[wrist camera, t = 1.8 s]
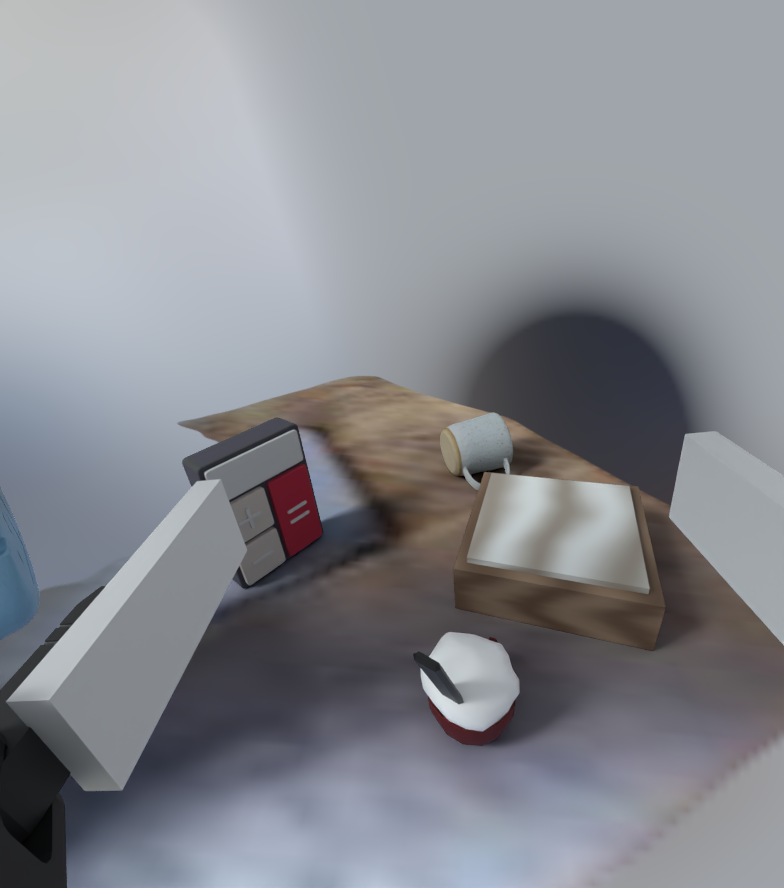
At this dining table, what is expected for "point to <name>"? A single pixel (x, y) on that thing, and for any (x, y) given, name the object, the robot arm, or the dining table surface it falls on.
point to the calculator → (263, 493)
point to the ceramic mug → (477, 446)
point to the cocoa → (469, 687)
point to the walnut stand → (561, 558)
